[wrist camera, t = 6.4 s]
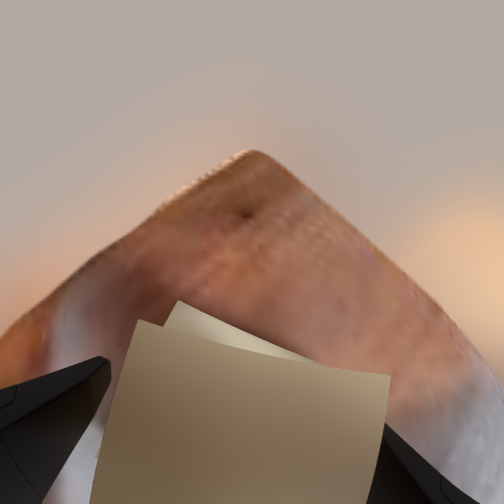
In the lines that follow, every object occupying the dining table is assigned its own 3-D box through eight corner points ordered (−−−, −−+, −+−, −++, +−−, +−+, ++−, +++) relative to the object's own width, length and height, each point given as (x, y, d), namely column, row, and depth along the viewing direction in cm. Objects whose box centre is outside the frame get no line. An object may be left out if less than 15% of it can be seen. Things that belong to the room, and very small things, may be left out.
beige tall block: (256, 473, 13) (335, 581, 2) (172, 453, 13) (84, 538, 2) (274, 397, 16) (390, 375, 5) (192, 377, 16) (138, 318, 5)
